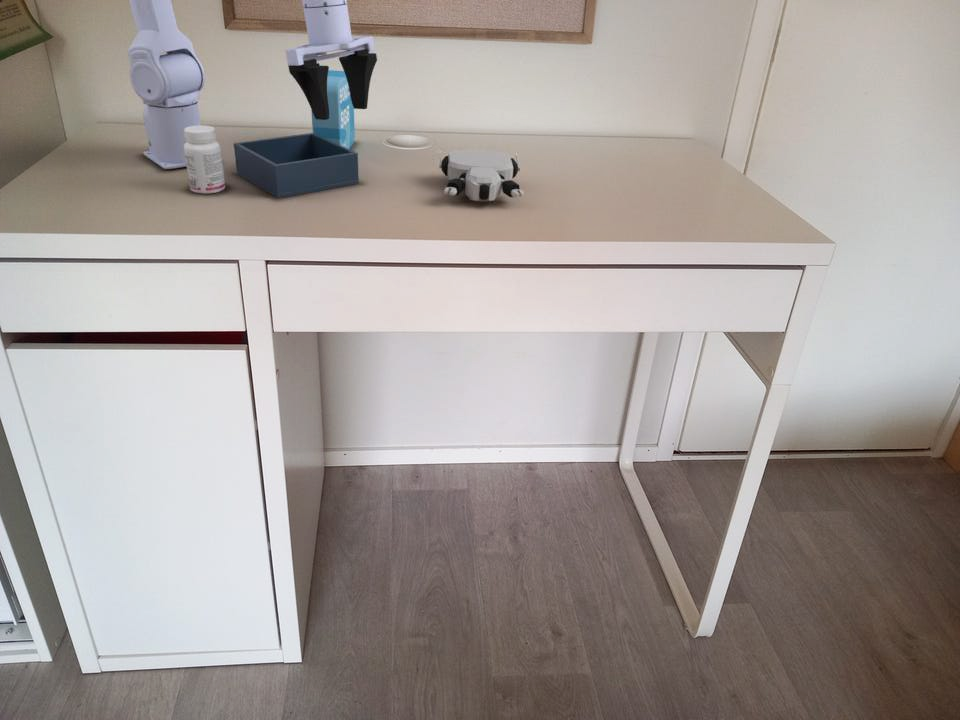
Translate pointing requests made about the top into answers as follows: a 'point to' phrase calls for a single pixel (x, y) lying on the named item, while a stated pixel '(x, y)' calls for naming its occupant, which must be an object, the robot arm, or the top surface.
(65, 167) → the top surface
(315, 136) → the tote
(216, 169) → the pill bottle
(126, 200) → the top surface
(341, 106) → the blue carton
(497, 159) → the robot toy
